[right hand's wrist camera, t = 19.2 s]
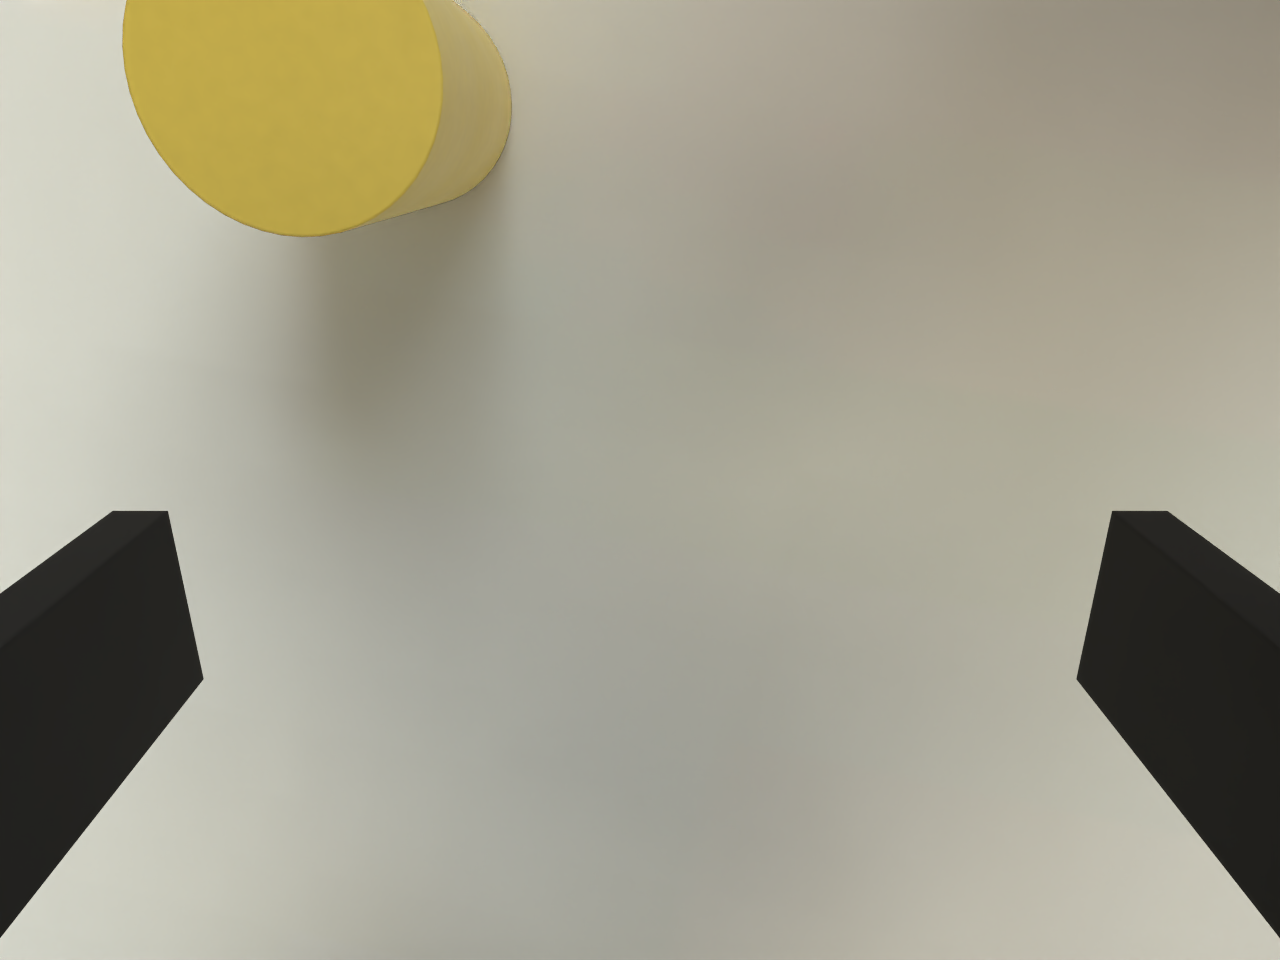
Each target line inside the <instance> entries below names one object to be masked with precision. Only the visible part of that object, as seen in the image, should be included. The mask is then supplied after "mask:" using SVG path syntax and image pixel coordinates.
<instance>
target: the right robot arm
mask: <svg viewBox="0 0 1280 960" xmlns="http://www.w3.org/2000/svg"><path fill="white" fill-rule="evenodd" d="M202 680H203V674H202V669H201V665H200V660H199V655H198V651H197V646H196V641H195V636H194V632H193V627H192V622H191V618H190V613H189V608H188V604H187V599H186V594H185V590H184V585H183V580H182V575H181V571H180V566H179V561H178V557H177V552H176V547H175V543H174V538H173V533H172V528H171V524H170V519H169V514H168V511H112V512H111V513H109V514H108V515H107V516H105V517H104V518H103V519H101V520H100V521H98V522H97V523H96V524H94V525H93V526H92V527H90V528H89V529H88V530H86V531H85V532H83V533H82V534H81V535H79V536H78V537H77V538H75V539H74V540H73V541H71V542H70V543H69V544H67V545H66V546H64V547H63V548H62V549H60V550H59V551H58V552H56V553H55V554H54V555H52V556H51V557H49V558H48V559H47V560H45V561H44V562H43V563H41V564H40V565H39V566H37V567H36V568H35V569H33V570H32V571H30V572H29V573H28V574H26V575H25V576H24V577H22V578H21V579H20V580H18V581H17V582H15V583H14V584H13V585H11V586H10V587H9V588H7V589H6V590H5V591H3V592H2V593H0V938H1V936H2V935H3V934H4V932H5V931H6V930H7V929H8V927H9V926H10V925H11V924H12V922H13V921H14V920H15V918H16V917H17V916H18V915H19V913H20V912H21V911H22V910H23V908H24V907H25V906H26V904H27V903H28V902H29V901H30V899H31V898H32V897H33V896H34V894H35V893H36V892H37V890H38V889H39V888H40V887H41V885H42V884H43V883H44V882H45V880H46V879H47V878H48V876H49V875H50V874H51V873H52V871H53V870H54V869H55V868H56V866H57V865H58V864H59V862H60V861H61V860H62V859H63V857H64V856H65V855H66V854H67V852H68V851H69V850H70V848H71V847H72V846H73V845H74V843H75V842H76V841H77V840H78V838H79V837H80V836H81V834H82V833H83V832H84V831H85V829H86V828H87V827H88V826H89V824H90V823H91V822H92V820H93V819H94V818H95V817H96V815H97V814H98V813H99V812H100V810H101V809H102V808H103V806H104V805H105V804H106V803H107V801H108V800H109V799H110V798H111V796H112V795H113V794H114V792H115V791H116V790H117V789H118V787H119V786H120V785H121V784H122V782H123V781H124V780H125V778H126V777H127V776H128V775H129V773H130V772H131V771H132V769H133V768H134V767H135V766H136V764H137V763H138V762H139V761H140V759H141V758H142V757H143V755H144V754H145V753H146V752H147V750H148V749H149V748H150V747H151V745H152V744H153V743H154V741H155V740H156V739H157V738H158V736H159V735H160V734H161V733H162V731H163V730H164V729H165V727H166V726H167V725H168V724H169V722H170V721H171V720H172V719H173V717H174V716H175V715H176V713H177V712H178V711H179V710H180V708H181V707H182V706H183V705H184V703H185V702H186V701H187V699H188V698H189V697H190V696H191V694H192V693H193V692H194V691H195V689H196V688H197V687H198V685H199V684H200V683H201V682H202ZM1077 680H1078V682H1079V683H1080V684H1081V685H1082V687H1083V688H1084V689H1085V691H1086V692H1087V693H1088V694H1089V696H1090V697H1091V698H1092V699H1093V701H1094V702H1095V703H1096V705H1097V706H1098V707H1099V708H1100V710H1101V711H1102V712H1103V713H1104V715H1105V716H1106V717H1107V719H1108V720H1109V721H1110V722H1111V724H1112V725H1113V726H1114V727H1115V729H1116V730H1117V731H1118V733H1119V734H1120V735H1121V736H1122V738H1123V739H1124V740H1125V742H1126V743H1127V744H1128V745H1129V747H1130V748H1131V749H1132V750H1133V752H1134V753H1135V754H1136V756H1137V757H1138V758H1139V759H1140V761H1141V762H1142V763H1143V764H1144V766H1145V767H1146V768H1147V770H1148V771H1149V772H1150V773H1151V775H1152V776H1153V777H1154V778H1155V780H1156V781H1157V782H1158V784H1159V785H1160V786H1161V787H1162V789H1163V790H1164V791H1165V792H1166V794H1167V795H1168V796H1169V798H1170V799H1171V800H1172V801H1173V803H1174V804H1175V805H1176V806H1177V808H1178V809H1179V810H1180V812H1181V813H1182V814H1183V815H1184V817H1185V818H1186V819H1187V820H1188V822H1189V823H1190V824H1191V826H1192V827H1193V828H1194V829H1195V831H1196V832H1197V833H1198V834H1199V836H1200V837H1201V838H1202V840H1203V841H1204V842H1205V843H1206V845H1207V846H1208V847H1209V848H1210V850H1211V851H1212V852H1213V854H1214V855H1215V856H1216V857H1217V859H1218V860H1219V861H1220V862H1221V864H1222V865H1223V866H1224V868H1225V869H1226V870H1227V871H1228V873H1229V874H1230V875H1231V876H1232V878H1233V879H1234V880H1235V882H1236V883H1237V884H1238V885H1239V887H1240V888H1241V889H1242V890H1243V892H1244V893H1245V894H1246V896H1247V897H1248V898H1249V899H1250V901H1251V902H1252V903H1253V904H1254V906H1255V907H1256V908H1257V910H1258V911H1259V912H1260V913H1261V915H1262V916H1263V917H1264V918H1265V920H1266V921H1267V922H1268V924H1269V925H1270V926H1271V927H1272V929H1273V930H1274V931H1275V932H1276V934H1277V935H1278V936H1279V938H1280V593H1278V592H1277V591H1275V590H1274V589H1273V588H1271V587H1270V586H1269V585H1267V584H1266V583H1265V582H1263V581H1262V580H1260V579H1259V578H1258V577H1256V576H1255V575H1254V574H1252V573H1251V572H1250V571H1248V570H1247V569H1245V568H1244V567H1243V566H1241V565H1240V564H1239V563H1237V562H1236V561H1235V560H1233V559H1232V558H1231V557H1229V556H1228V555H1226V554H1225V553H1224V552H1222V551H1221V550H1220V549H1218V548H1217V547H1216V546H1214V545H1213V544H1211V543H1210V542H1209V541H1207V540H1206V539H1205V538H1203V537H1202V536H1201V535H1199V534H1198V533H1196V532H1195V531H1194V530H1192V529H1191V528H1190V527H1188V526H1187V525H1186V524H1184V523H1183V522H1182V521H1180V520H1179V519H1177V518H1176V517H1175V516H1173V515H1172V514H1171V513H1169V512H1168V511H1112V514H1111V519H1110V524H1109V528H1108V533H1107V538H1106V543H1105V547H1104V552H1103V557H1102V561H1101V566H1100V571H1099V575H1098V580H1097V585H1096V589H1095V594H1094V599H1093V604H1092V608H1091V613H1090V618H1089V622H1088V627H1087V632H1086V636H1085V641H1084V646H1083V651H1082V655H1081V660H1080V665H1079V669H1078V674H1077Z"/></svg>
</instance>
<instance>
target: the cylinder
mask: <svg viewBox="0 0 1280 960" xmlns="http://www.w3.org/2000/svg"><path fill="white" fill-rule="evenodd" d="M122 47H123V57H124V67H125V73H126V78H127V82H128V87H129V91H130V94H131V97H132V100H133V103H134V106H135V109H136V112H137V115H138V117H139V119H140V121H141V123H142V125H143V127H144V129H145V131H146V134H147V135H148V137H149V139H150V140H151V142H152V144H153V145H154V147H155V148H156V150H157V152H158V153H159V155H160V156H161V157H162V159H163V160H164V161H165V163H166V164H167V165H168V166H169V168H170V169H171V170H172V172H173V173H174V174H175V175H176V176H177V177H178V178H179V179H180V180H181V181H182V182H183V183H184V184H185V185H186V186H187V187H188V188H189V189H190V190H191V191H192V192H193V193H195V194H196V195H197V196H198V197H199V198H201V199H202V200H203V201H204V202H206V203H207V204H208V205H210V206H212V207H213V208H215V209H216V210H218V211H219V212H221V213H222V214H224V215H226V216H228V217H230V218H232V219H234V220H236V221H238V222H240V223H242V224H244V225H247V226H250V227H253V228H255V229H258V230H261V231H265V232H269V233H274V234H278V235H284V236H295V237H315V236H325V235H331V234H336V233H341V232H344V231H348V230H351V229H355V228H358V227H362V226H365V225H369V224H372V223H376V222H379V221H382V220H386V219H389V218H393V217H396V216H400V215H403V214H407V213H410V212H413V211H417V210H420V209H424V208H427V207H431V206H434V205H438V204H441V203H444V202H447V201H450V200H453V199H455V198H457V197H459V196H461V195H463V194H465V193H467V192H468V191H470V190H471V189H473V188H474V187H475V186H477V185H478V184H479V183H480V182H481V181H482V180H483V179H484V178H485V177H486V176H487V175H488V173H489V172H490V171H491V170H492V168H493V167H494V165H495V164H496V162H497V160H498V159H499V157H500V155H501V153H502V151H503V148H504V146H505V143H506V140H507V136H508V133H509V128H510V122H511V108H512V102H511V91H510V85H509V80H508V76H507V72H506V69H505V67H504V64H503V61H502V59H501V57H500V54H499V52H498V50H497V48H496V47H495V45H494V43H493V42H492V40H491V39H490V37H489V35H488V34H487V33H486V32H485V30H484V29H483V28H482V27H481V26H480V24H479V23H478V22H477V21H476V20H475V19H474V18H472V17H471V16H470V15H469V14H468V13H467V12H466V11H465V10H463V9H462V8H461V7H460V6H459V5H458V4H456V3H455V2H454V1H453V0H127V1H126V7H125V14H124V20H123V45H122Z"/></svg>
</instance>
